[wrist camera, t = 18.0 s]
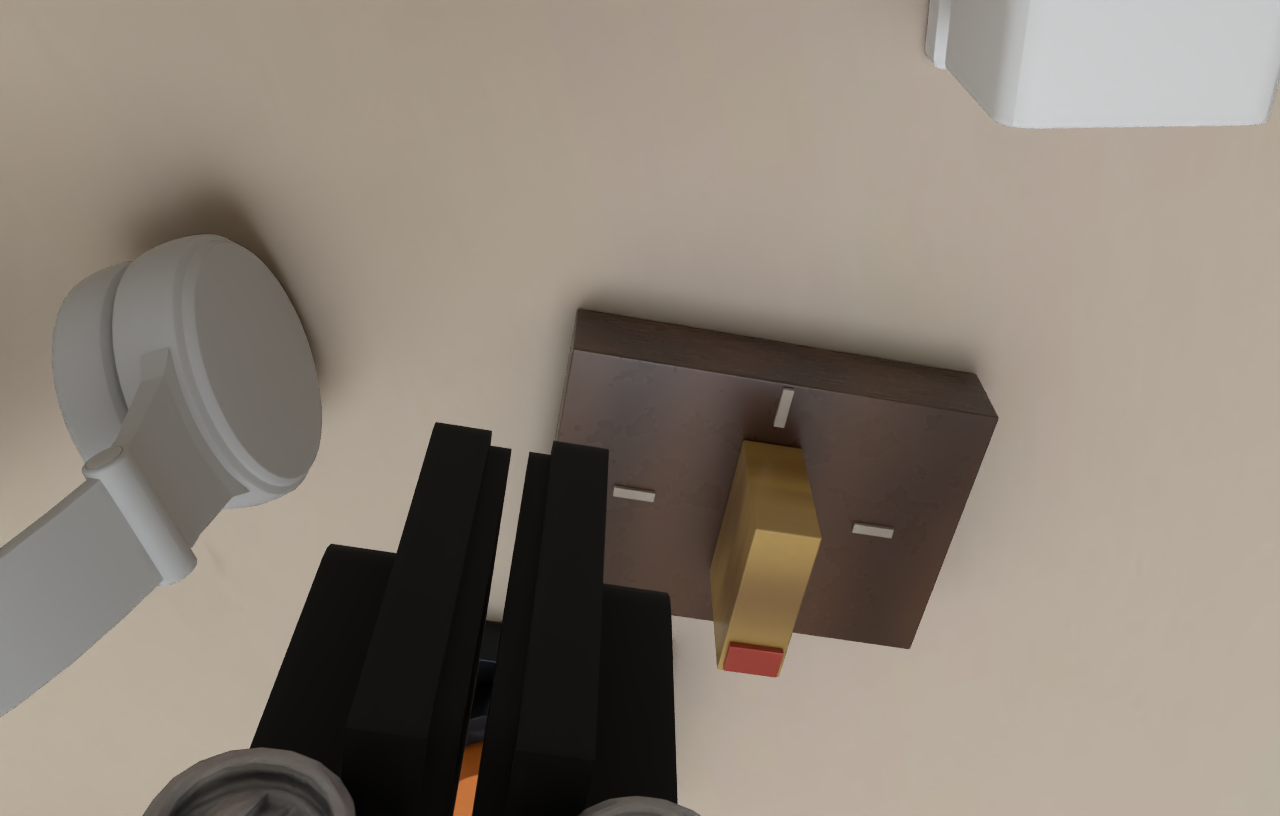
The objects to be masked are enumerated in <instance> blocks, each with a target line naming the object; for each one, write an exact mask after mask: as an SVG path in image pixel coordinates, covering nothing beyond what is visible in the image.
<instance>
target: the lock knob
mask: <svg viewBox="0 0 1280 816" xmlns="http://www.w3.org/2000/svg"><path fill="white" fill-rule="evenodd" d="M821 540H822V538H821V533H820V529H819V524H818V519H817V515H816V510H815V506H814V501H813V497H812V492H811V487H810V483H809V478H808V474H807V469H806V465H805V460H804V456H803V451H802V449H799V448H793V447H786V446H780V445H773V444H767V443H760V442H754V441H747V440H744V441H743V444H742V447H741V451H740V455H739V459H738V463H737V467H736V471H735V474H734V478H733V482H732V486H731V490H730V494H729V498H728V501H727V505H726V509H725V513H724V517H723V521H722V525H721V529H720V532H719V536H718V540H717V544H716V548H715V552H714V556H713V559H712V563H711V567H710V583H711V595H712V608H713V620H714V633H715V646H716V658H717V668H718V669H723V670H725V671H733V672H740V673H747V674H755V675H762V676H769V677H778V676H779V674H780V671H781V668H782V665H783V661H784V658H785V655H786V652H787V649H788V645H789V642H790V639H791V636H792V633H793V629H794V626H795V623H796V620H797V617H798V613H799V610H800V607H801V604H802V601H803V597H804V594H805V591H806V588H807V584H808V581H809V578H810V575H811V572H812V568H813V565H814V562H815V559H816V556H817V552H818V549H819V546H820V543H821Z"/></svg>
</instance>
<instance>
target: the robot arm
mask: <svg viewBox="0 0 1280 816" xmlns="http://www.w3.org/2000/svg"><path fill="white" fill-rule="evenodd" d="M491 436H492V431H489V430H483V429H477V428H470V427H464V426H457V425H451V424H444V423H438V422H436V423H435V425H434V428H433V431H432V435H431V438H430V442H429V445H428V448H427V452H426V455H425V459H424V462H423V465H422V469H421V472H420V476H419V479H418V482H417V486H416V489H415V493H414V496H413V499H412V503H411V506H410V510H409V513H408V516H407V520H406V523H405V527H404V530H403V533H402V537H401V540H400V544H399V547H398V550H397V553H391V552H384V551H377V550H370V549H363V548H357V547H350V546H343V545H336V544H330V545H329V546H328V547H327V549H326V551H325V553H324V556H323V558H322V560H321V563H320V566H319V568H318V571H317V573H316V576H315V579H314V581H313V584H312V587H311V589H310V592H309V594H308V597H307V600H306V602H305V605H304V608H303V610H302V613H301V615H300V618H299V621H298V623H297V626H296V628H295V631H294V634H293V636H292V639H291V642H290V644H289V647H288V649H287V652H286V655H285V657H284V660H283V663H282V665H281V668H280V670H279V673H278V676H277V678H276V681H275V684H274V686H273V689H272V691H271V694H270V697H269V699H268V702H267V705H266V707H265V710H264V712H263V715H262V718H261V720H260V723H259V726H258V728H257V731H256V733H255V736H254V739H253V741H252V744H251V746H250V749H242V750H232V751H228V752H225V753H222V754H219V755H216V756H213V757H210V758H208V759H205V760H202V761H199V762H198V763H196V764H194V765H193V766H191V767H190V768H188V769H187V770H185V771H183V772H182V773H180V774H179V775H177V776H176V777H174V778H173V779H172V780H171V781H170V782H169V783H168V784H167V785H166V786H165V787H164V789H163V790H162V791H161V792H160V793H159V794H158V795H157V796H156V797H155V798H154V799H153V801H152V802H151V804H150V805H149V807H148V808H147V810H146V811H145V813H144V814H143V816H453V814H454V808H455V803H456V797H457V791H458V785H459V779H460V774H461V768H462V762H463V756H464V750H465V745H466V739H467V733H468V727H469V721H470V716H471V710H472V704H473V698H474V692H475V686H476V680H477V674H478V668H479V661H480V655H481V648H482V642H483V635H484V628H485V622H486V615H487V609H488V602H489V595H490V589H491V582H492V576H493V569H494V562H495V556H496V549H497V543H498V536H499V529H500V523H501V516H502V510H503V503H504V496H505V490H506V483H507V477H508V470H509V463H510V457H511V449H508V448H502V447H495V446H490V445H491ZM608 463H609V450H608V449H605V448H599V447H593V446H586V445H580V444H573V443H567V442H560V441H553V446H552V451H551V455H547V454H541V453H534V452H529V458H528V464H527V470H526V476H525V483H524V489H523V495H522V501H521V508H520V514H519V520H518V526H517V532H516V539H515V545H514V551H513V557H512V564H511V570H510V576H509V582H508V589H507V595H506V601H505V607H504V613H503V620H502V626H501V632H500V638H499V645H498V651H497V657H496V663H495V670H494V676H493V682H492V689H491V695H490V701H489V708H488V714H487V721H486V727H485V734H484V740H483V746H482V753H481V759H480V766H479V772H478V779H477V785H476V792H475V798H474V804H473V811H472V816H700V815H699V814H697V813H696V812H694V811H693V810H691V809H688V808H686V807H683V806H680V805H678V804H677V774H676V743H675V713H674V682H673V652H672V621H671V602H670V596H669V594H668V593H667V592H660V591H653V590H646V589H639V588H632V587H625V586H618V585H611V584H605V583H603V574H604V552H605V529H606V507H607V485H608Z"/></svg>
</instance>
